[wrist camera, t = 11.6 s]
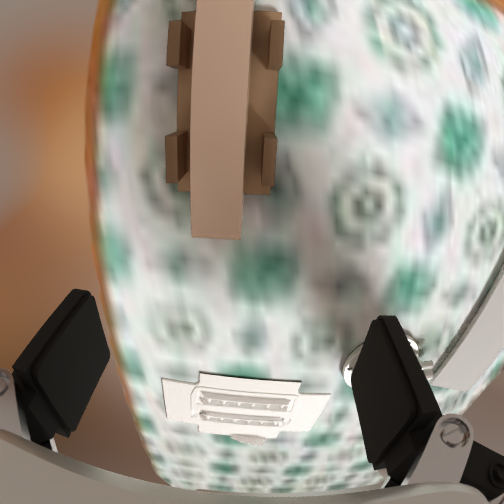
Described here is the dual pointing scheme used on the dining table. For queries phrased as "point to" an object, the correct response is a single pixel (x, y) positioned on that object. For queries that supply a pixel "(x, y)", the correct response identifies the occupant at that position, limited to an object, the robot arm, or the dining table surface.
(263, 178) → the rack
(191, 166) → the clay strip
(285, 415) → the tray
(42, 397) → the robot arm
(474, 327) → the decorative molding
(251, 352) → the dining table surface
